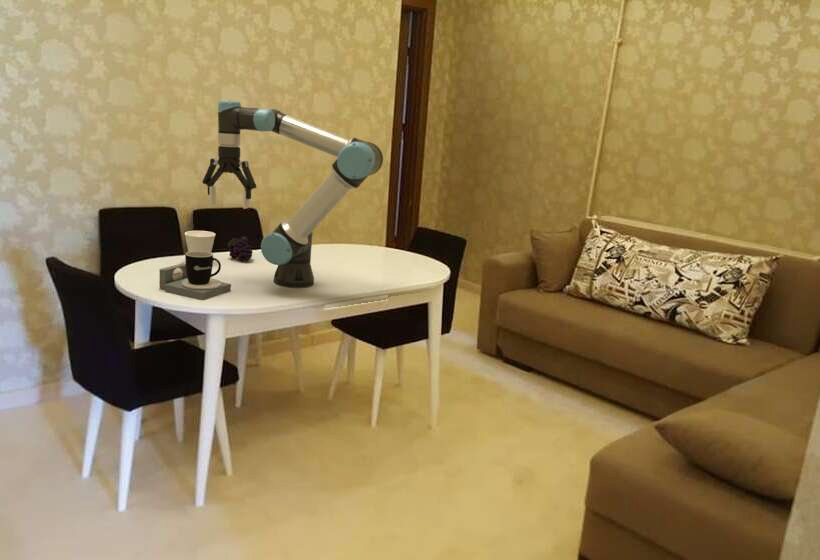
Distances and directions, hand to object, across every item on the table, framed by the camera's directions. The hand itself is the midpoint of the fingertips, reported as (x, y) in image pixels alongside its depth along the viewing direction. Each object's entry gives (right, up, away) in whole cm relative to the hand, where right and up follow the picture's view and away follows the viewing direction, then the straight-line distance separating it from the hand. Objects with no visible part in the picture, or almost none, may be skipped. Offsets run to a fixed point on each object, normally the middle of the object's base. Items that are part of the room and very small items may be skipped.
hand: (229, 206), depth 235 cm
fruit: (-7, -18, +44) cm, 48 cm away
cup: (-20, -20, +31) cm, 42 cm away
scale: (-11, -30, -6) cm, 32 cm away
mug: (-7, -27, -8) cm, 29 cm away
